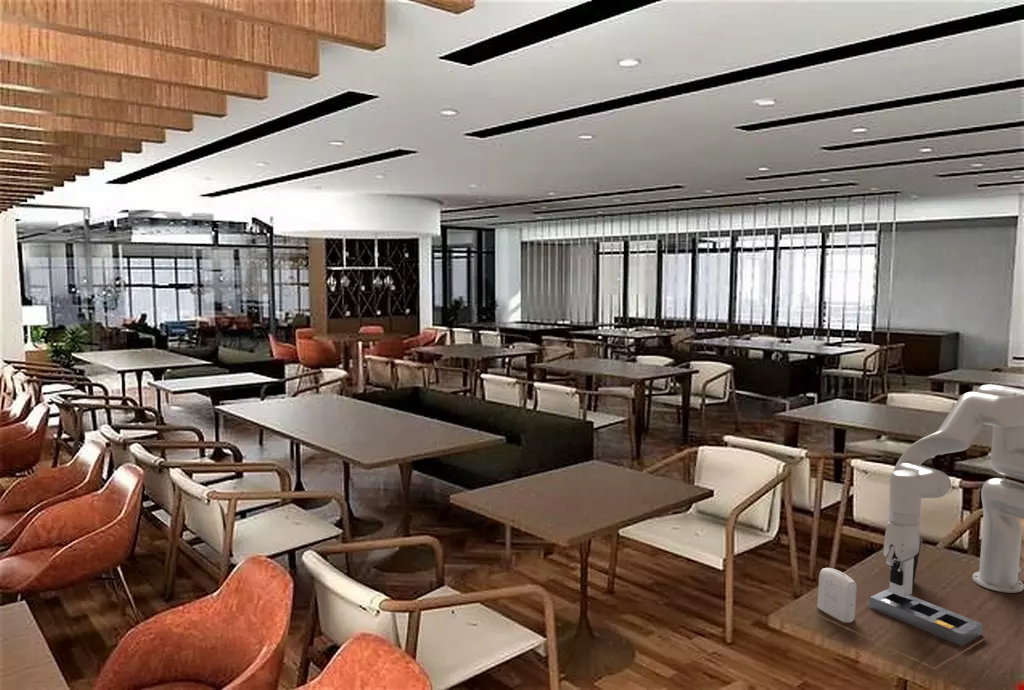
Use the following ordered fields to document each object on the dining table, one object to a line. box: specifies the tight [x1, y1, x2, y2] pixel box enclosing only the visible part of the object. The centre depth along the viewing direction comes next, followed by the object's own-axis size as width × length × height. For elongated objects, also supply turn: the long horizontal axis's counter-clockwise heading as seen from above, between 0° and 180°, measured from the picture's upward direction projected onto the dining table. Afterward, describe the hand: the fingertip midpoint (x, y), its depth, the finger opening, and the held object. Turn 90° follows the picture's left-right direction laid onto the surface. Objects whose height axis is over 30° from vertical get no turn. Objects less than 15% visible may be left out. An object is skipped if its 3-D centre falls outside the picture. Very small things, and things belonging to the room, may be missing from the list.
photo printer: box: [816, 567, 858, 623], centre depth 196 cm, size 10×4×12 cm, turn 25°
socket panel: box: [869, 588, 983, 647], centre depth 193 cm, size 10×24×4 cm, turn 33°
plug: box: [888, 556, 914, 597], centre depth 198 cm, size 4×4×11 cm
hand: (901, 580), depth 198 cm, fingers closed on plug, 4 cm apart
